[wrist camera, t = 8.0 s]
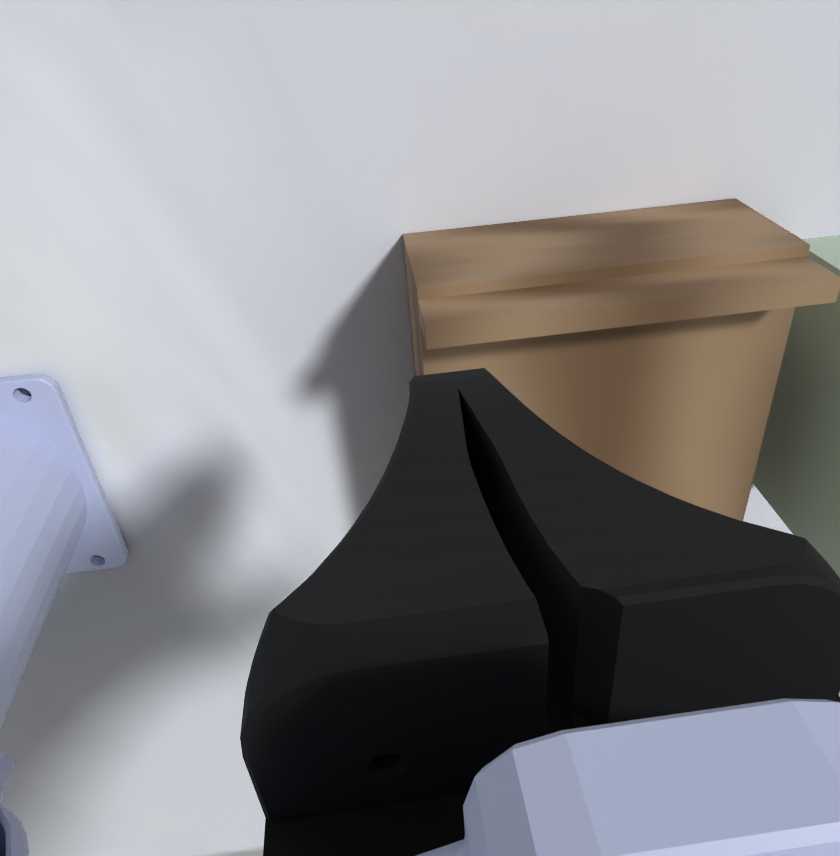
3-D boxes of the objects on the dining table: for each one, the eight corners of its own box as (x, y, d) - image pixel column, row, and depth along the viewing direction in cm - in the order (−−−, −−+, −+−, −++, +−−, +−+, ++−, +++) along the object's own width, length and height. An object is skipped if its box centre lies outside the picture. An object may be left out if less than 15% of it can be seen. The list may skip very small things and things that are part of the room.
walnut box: (429, 537, 28) (449, 653, 23) (402, 234, 21) (424, 314, 16) (681, 504, 28) (749, 612, 24) (735, 198, 21) (845, 267, 17)
